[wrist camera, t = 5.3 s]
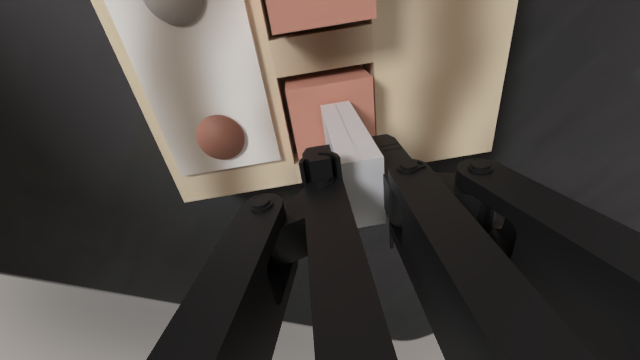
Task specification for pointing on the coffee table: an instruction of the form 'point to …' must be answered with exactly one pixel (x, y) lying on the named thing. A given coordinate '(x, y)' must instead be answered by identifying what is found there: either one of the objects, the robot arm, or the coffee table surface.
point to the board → (299, 58)
